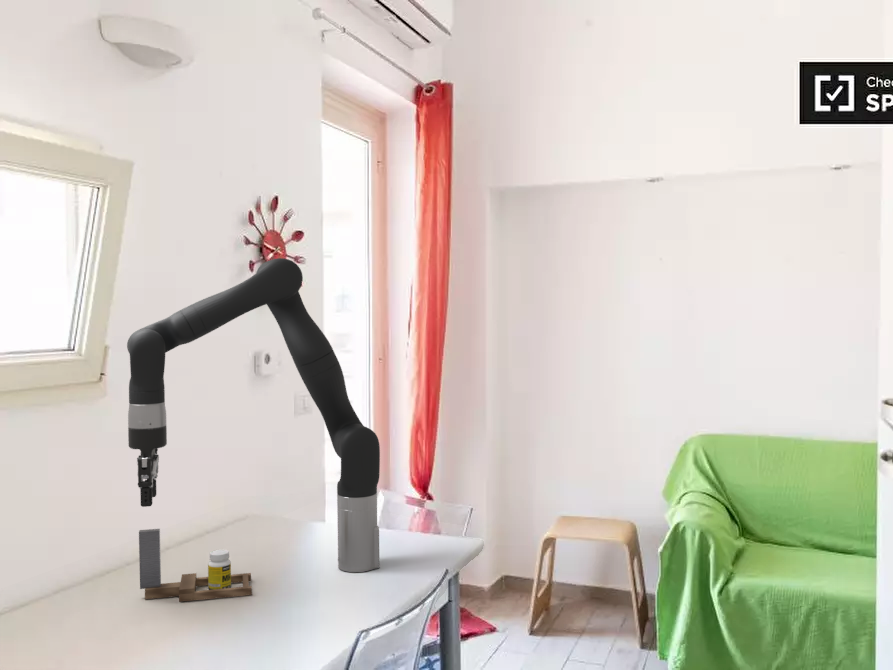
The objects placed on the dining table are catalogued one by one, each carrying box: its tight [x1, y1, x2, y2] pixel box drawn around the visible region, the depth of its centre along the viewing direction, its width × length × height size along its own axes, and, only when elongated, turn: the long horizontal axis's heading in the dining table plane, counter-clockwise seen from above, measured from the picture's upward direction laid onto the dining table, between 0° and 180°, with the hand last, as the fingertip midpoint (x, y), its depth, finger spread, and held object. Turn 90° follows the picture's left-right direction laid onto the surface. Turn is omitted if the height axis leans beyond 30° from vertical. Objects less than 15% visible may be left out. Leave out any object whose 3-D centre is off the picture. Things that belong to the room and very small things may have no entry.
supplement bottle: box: [207, 549, 232, 590], centre depth 174 cm, size 5×5×8 cm
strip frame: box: [138, 528, 253, 603], centre depth 173 cm, size 23×10×14 cm, turn 104°
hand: (148, 501), depth 170 cm, fingers open, 8 cm apart
